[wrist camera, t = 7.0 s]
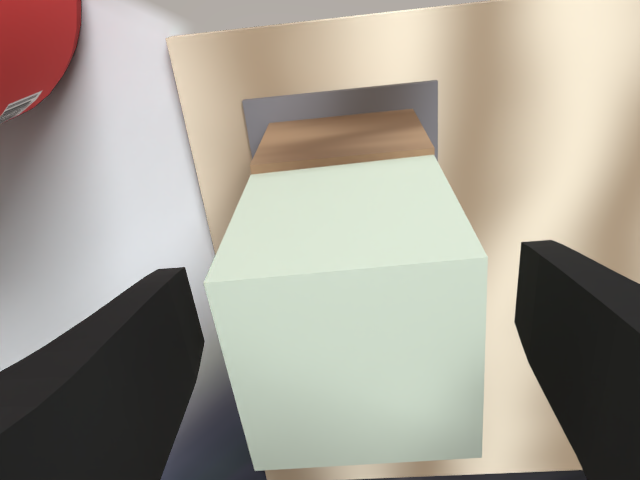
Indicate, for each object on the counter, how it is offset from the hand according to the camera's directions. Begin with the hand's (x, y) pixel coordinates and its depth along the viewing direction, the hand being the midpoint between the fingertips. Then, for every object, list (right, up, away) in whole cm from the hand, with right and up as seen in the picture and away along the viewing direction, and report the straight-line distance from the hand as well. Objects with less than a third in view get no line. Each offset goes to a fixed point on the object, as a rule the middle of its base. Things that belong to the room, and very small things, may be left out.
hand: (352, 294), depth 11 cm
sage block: (0, +1, +2) cm, 3 cm away
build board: (+4, -1, +9) cm, 9 cm away
